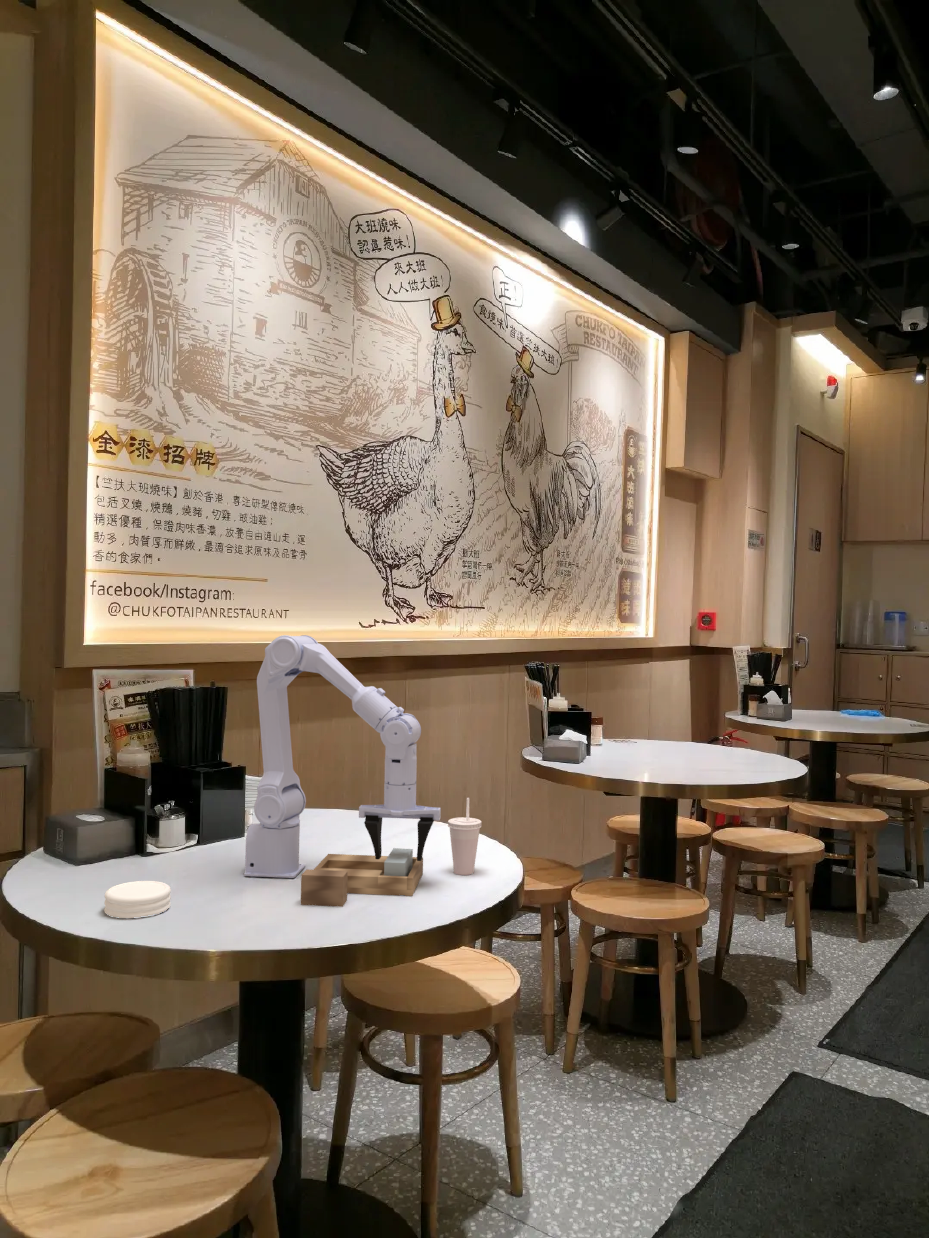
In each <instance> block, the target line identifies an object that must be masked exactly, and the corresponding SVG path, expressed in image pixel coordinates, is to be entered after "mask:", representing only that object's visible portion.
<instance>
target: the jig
mask: <svg viewBox="0 0 929 1238" xmlns="http://www.w3.org/2000/svg"><path fill="white" fill-rule="evenodd" d="M388 856H389V855H381V858H380V859H375V855H370V854H369V855H368V854H367V855H366V854H363V855H362V854H345V853H344V854H343V853H342V854H340V853H328V854H326V855H325V857H324V858H323V859H322V860H321V861H320V862H319V863H318V864H317V865H316V866H315V867H314V868H313V870H334V871H348V880H347V894H357V895H358V894H359V895H380V896H381V895H382V896H383V895H384V896H400V895H405V896H406V897H413V895H414V893H415V892H416V890H417V887H418V885H419V883H420V881H421V880H422V879H421V878H422V876H423V874H424V856H422V860H421V861H417V856H413V863H412V869H411V871H410V873H409V875H408V877H407V876H384V862H385V860H386V859H387V857H388Z"/></svg>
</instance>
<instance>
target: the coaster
mask: <svg viewBox="0 0 929 1238" xmlns="http://www.w3.org/2000/svg"><path fill="white" fill-rule="evenodd" d="M171 891H172V890H171V886H170V885H169V884H167V883H165V882H162V881H157V880H137V881H129V882H124V883H119V884H117V885H113V886H111V887H110V888H109V889H107V890H106V891H105V893H104V908H103V911H104V913H106V914H108V915H110V916H113V917H119V918H134V917H141V916H148V915H153V914H159V913H161V912H164V911H165V910H167V909H168V908H169V909H170V907H171V904H172V903H171V898H172V896H171ZM169 909H168V910H169ZM168 910H167V911H168ZM164 913H165V912H164ZM106 914H105V915H106ZM108 915H107V916H108ZM159 915H160V914H159Z"/></svg>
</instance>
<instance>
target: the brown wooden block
mask: <svg viewBox="0 0 929 1238" xmlns="http://www.w3.org/2000/svg"><path fill="white" fill-rule="evenodd" d="M347 880H348V871H334V870H314V869H308V868H307V869H305V871H303V872H302V873H301V876H300V906H319V907H320V906H321V907H337V908H338V907H342V908H343V907H344V906H345V904H346V903H347V901H348V893H347Z"/></svg>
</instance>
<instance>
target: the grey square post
mask: <svg viewBox="0 0 929 1238" xmlns="http://www.w3.org/2000/svg"><path fill="white" fill-rule="evenodd" d="M413 851H414V849H413V848H395V847H393V849H391V851H390V853H389V854H388V855H387V856H388V857H387V859H386V860H385V862H384V876H407V877H408V875H409V873H410V871H411V869H412V863H413V857H414V854H413V853H414V852H413Z"/></svg>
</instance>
